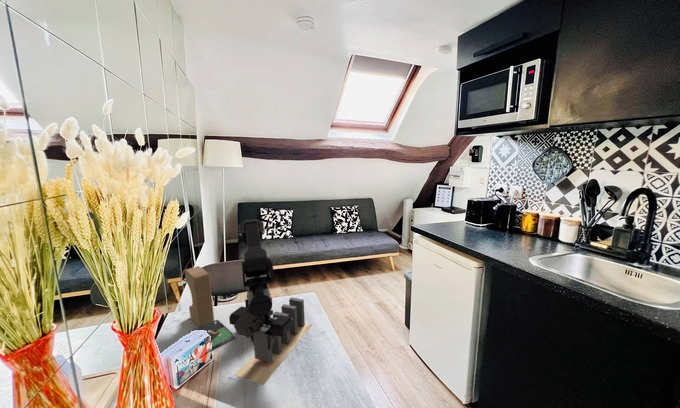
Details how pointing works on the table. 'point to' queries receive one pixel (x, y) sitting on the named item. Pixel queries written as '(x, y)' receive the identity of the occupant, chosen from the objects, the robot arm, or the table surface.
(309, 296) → the table surface
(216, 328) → the disk drive
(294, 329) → the domino
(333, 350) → the table surface
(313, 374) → the table surface
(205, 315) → the decorative block
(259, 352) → the domino
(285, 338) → the domino
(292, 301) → the domino
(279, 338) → the domino
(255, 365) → the board
